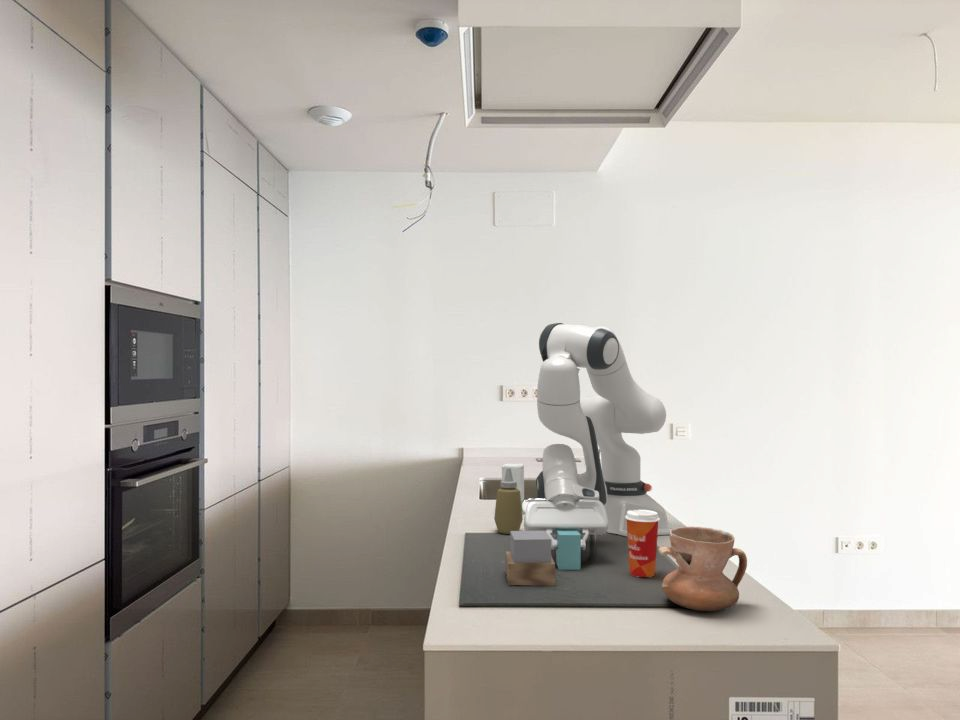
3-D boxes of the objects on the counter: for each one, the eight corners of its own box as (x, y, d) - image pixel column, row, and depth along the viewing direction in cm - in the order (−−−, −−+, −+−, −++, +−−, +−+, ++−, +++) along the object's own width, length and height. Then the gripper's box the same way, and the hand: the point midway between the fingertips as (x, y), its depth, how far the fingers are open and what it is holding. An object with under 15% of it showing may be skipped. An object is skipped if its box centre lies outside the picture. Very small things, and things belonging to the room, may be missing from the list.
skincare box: (521, 516, 217) (521, 466, 217) (500, 515, 218) (500, 465, 218) (524, 510, 225) (525, 463, 225) (504, 509, 226) (505, 462, 226)
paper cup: (618, 571, 158) (618, 510, 158) (645, 567, 161) (645, 507, 161) (638, 581, 151) (639, 517, 151) (667, 577, 154) (667, 514, 154)
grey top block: (545, 552, 156) (545, 530, 156) (551, 562, 148) (551, 539, 148) (510, 553, 156) (510, 530, 156) (514, 563, 148) (514, 539, 148)
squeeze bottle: (507, 537, 190) (508, 471, 190) (488, 531, 196) (488, 468, 196) (528, 532, 195) (528, 469, 195) (508, 527, 201) (509, 465, 201)
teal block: (576, 563, 164) (577, 530, 164) (580, 569, 159) (580, 535, 159) (556, 563, 164) (556, 529, 164) (558, 569, 159) (559, 535, 159)
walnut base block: (549, 573, 157) (549, 551, 157) (554, 587, 147) (555, 563, 147) (505, 573, 157) (505, 551, 157) (508, 587, 147) (508, 563, 147)
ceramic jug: (669, 618, 128) (671, 542, 129) (646, 592, 143) (648, 523, 143) (763, 619, 129) (765, 543, 129) (731, 593, 144) (733, 525, 144)
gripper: (522, 491, 169) (525, 541, 159) (605, 491, 169) (613, 541, 159) (520, 505, 173) (523, 555, 163) (601, 506, 173) (609, 555, 164)
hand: (568, 548), depth 161 cm, fingers closed on teal block, 5 cm apart
